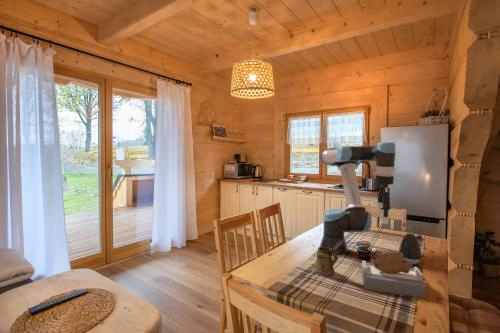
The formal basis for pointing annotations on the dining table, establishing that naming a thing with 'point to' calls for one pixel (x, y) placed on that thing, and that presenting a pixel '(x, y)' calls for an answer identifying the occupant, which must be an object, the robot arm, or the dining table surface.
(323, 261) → the wooden mug
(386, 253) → the wooden carving
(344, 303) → the dining table surface
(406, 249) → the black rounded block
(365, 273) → the open storage tray
